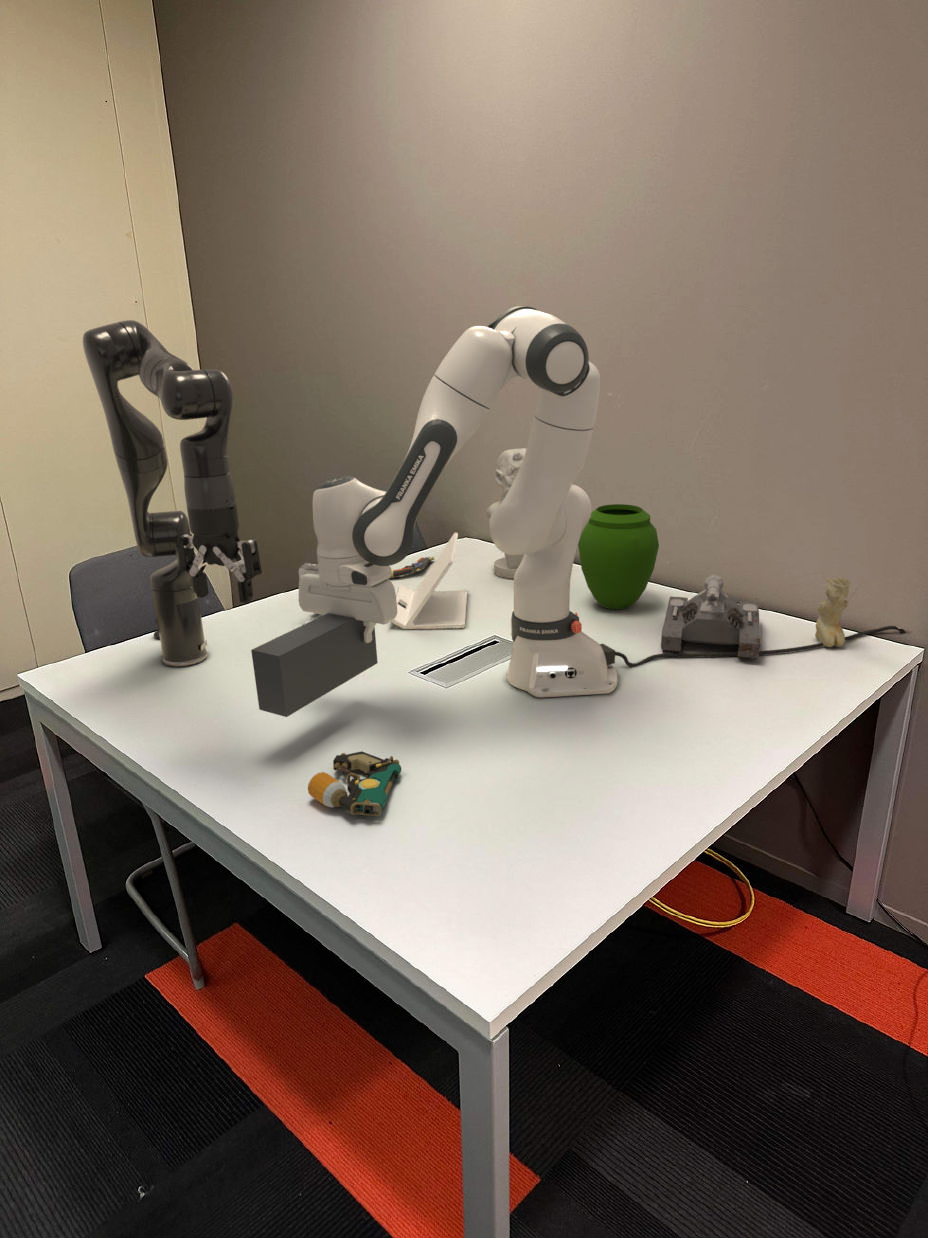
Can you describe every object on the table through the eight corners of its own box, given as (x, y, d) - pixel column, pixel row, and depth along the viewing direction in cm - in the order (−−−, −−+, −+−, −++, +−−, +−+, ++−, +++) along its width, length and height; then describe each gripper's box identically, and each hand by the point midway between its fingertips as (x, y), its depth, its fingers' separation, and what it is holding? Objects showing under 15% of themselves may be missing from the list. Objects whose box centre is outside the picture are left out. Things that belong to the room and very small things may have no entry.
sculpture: (821, 649, 184) (830, 583, 179) (808, 637, 191) (816, 573, 185) (848, 649, 184) (858, 582, 179) (834, 636, 191) (843, 572, 185)
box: (351, 657, 166) (346, 603, 162) (377, 663, 162) (373, 608, 159) (259, 709, 145) (251, 649, 142) (286, 717, 142) (279, 656, 139)
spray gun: (348, 760, 147) (426, 781, 141) (290, 805, 132) (374, 830, 126) (348, 738, 145) (426, 757, 139) (289, 781, 131) (374, 804, 125)
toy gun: (385, 571, 238) (419, 567, 236) (402, 556, 256) (434, 553, 254) (386, 580, 239) (421, 577, 237) (403, 565, 257) (435, 562, 254)
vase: (599, 587, 227) (601, 497, 218) (668, 600, 216) (673, 505, 208) (562, 608, 212) (564, 513, 204) (634, 623, 202) (639, 523, 193)
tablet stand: (467, 593, 225) (465, 531, 219) (465, 628, 202) (462, 559, 196) (399, 594, 226) (395, 532, 220) (388, 629, 203) (384, 560, 197)
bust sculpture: (503, 593, 225) (502, 460, 212) (483, 567, 247) (480, 445, 234) (562, 587, 228) (563, 456, 215) (536, 562, 250) (536, 441, 237)
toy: (668, 615, 206) (672, 556, 200) (756, 622, 200) (762, 561, 195) (660, 656, 183) (663, 590, 178) (758, 664, 177) (765, 596, 172)
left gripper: (158, 504, 133) (174, 602, 139) (234, 510, 128) (247, 611, 134) (190, 494, 140) (203, 588, 146) (263, 499, 135) (274, 596, 140)
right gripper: (287, 566, 156) (295, 636, 161) (379, 578, 147) (385, 652, 152) (308, 557, 162) (316, 625, 166) (399, 568, 152) (404, 640, 157)
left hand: (224, 599), depth 140 cm, fingers open, 8 cm apart
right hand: (350, 638), depth 159 cm, fingers closed on box, 6 cm apart
